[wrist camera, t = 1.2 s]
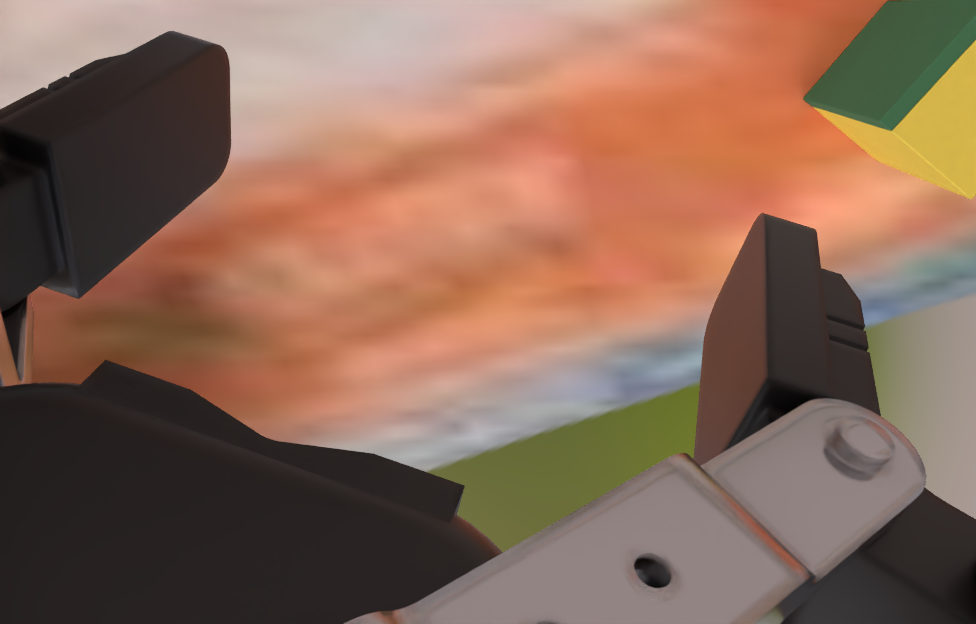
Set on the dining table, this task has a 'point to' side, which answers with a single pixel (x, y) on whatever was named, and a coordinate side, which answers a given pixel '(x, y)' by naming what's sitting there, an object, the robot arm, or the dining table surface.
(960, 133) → the sponge
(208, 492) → the robot arm
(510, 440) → the dining table surface
